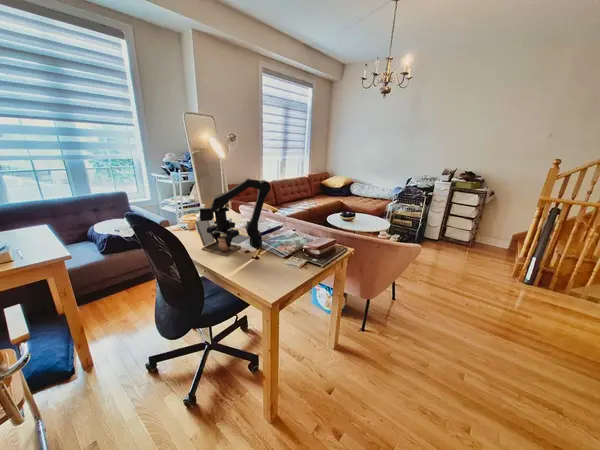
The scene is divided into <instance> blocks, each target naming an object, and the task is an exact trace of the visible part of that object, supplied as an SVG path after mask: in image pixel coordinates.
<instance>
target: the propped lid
mask: <svg viewBox="0 0 600 450" xmlns="http://www.w3.org/2000/svg"><path fill="white" fill-rule="evenodd" d="M194 222H195V225H196V226H197V229H198V232H199V234H198V235H199V237H200V240H201V244H202V247H205V246H207V245H209V244H211V243H213V242H216V240H215V239H214V238H213V236H212V235H210V234H211V233H207V228H208V227H210V225H209V222H208V221H200V220H198V221H194ZM196 226H195V227H196Z"/></svg>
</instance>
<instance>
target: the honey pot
mask: <svg viewBox="0 0 600 450" xmlns="http://www.w3.org/2000/svg"><path fill="white" fill-rule="evenodd" d="M200 208H206V204H204V203H203V204H202V203H201V204H200ZM195 217H196V221H198V220H200V210H199V211H198V213H196V215H195ZM215 221H216V220H215V219H214V218H213V219H212V220H210V221H208V222H209V225H210V226H213V225H215V226H216V224H214V222H215ZM195 232H196V234H198V235H199V232H198V229H197V226H196V224H195Z"/></svg>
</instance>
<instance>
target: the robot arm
mask: <svg viewBox="0 0 600 450" xmlns="http://www.w3.org/2000/svg"><path fill="white" fill-rule="evenodd" d="M271 187H272V186H271V184H270V183H269V182H268V181H267V180H266V179H262V180H258V179H251V178H246V179H245V180H243V181H242V182H240V183H239V184H237V185H236V186H234V187H232V188H231V189H230V190H228V191H226V192H222V193H219V194H217V195H216V196H214V198H213V201H212V204H211V205H210V207H207V208H206V207H204V208H202V207H200V208H199V211H200V221H210V220H212V219H214V218H215V219H214V221H215V222H214V224H216V226H215V225H213V226H210V227H208V228H207V233H211V234H210V235H212V236H213V238H214V240H215V242H216V241H217V243H218V244H219V241H218V237H219V236H221V235H222V234H221V233H225V234H224V235H226V237H225V240H226V243H227V245H228V247H230V245H231V244H232V242H231V241H232V238H234V237H236V236H238V235H240V231H239V230H238V229H235V228H236V222H233V221H232V222H229V220H227V218H228V216H227V212H230V208H229V207H228V206H226V205H227V204H228V203H229V202H230V201H231V200H233V198H235V197H236V196H238V195H240V194H242V193H243V192H244V191H246V190H247V189H249V188H252V189H256V190H257V197H256V199H255V200H256V201H255V204H254V207H253V211H252V214H251V218H250V220H247V221H246V225H245V227H244V228H245V231H246V234H247V236H249V237H250V238H249V246H250V247H251V248H257V249H258V248H259V249H260V248H261V247H262V246H263V239H262V238H263V237H262V233H261V232H260V229H259V221H260V217H261V214H262V210H263V206H264V203H265V200H266V197H267V196H268V195H269V192H270V191H271ZM230 228H233V229H232V230H230V231H228V229H230Z"/></svg>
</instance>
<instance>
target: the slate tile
mask: <svg viewBox="0 0 600 450" xmlns="http://www.w3.org/2000/svg"><path fill="white" fill-rule="evenodd" d="M248 239H250V237H249V236H248V235H242V234H239V235H238V236H236V237H234V238H232V241H231V243H234V244H240V243H241V242H243V241H245V240H248Z"/></svg>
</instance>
